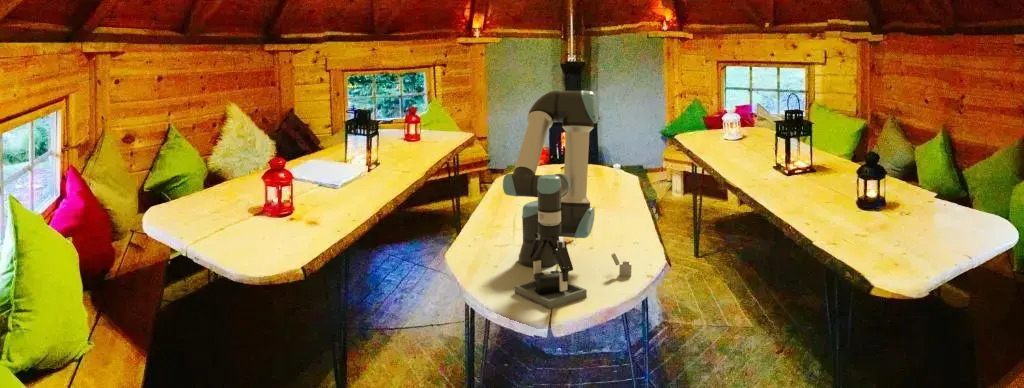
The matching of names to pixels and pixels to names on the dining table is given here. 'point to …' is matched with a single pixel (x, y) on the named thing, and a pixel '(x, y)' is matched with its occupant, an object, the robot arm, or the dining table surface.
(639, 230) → the dining table surface
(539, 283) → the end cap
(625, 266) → the lighter
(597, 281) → the dining table surface
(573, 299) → the seat tray
